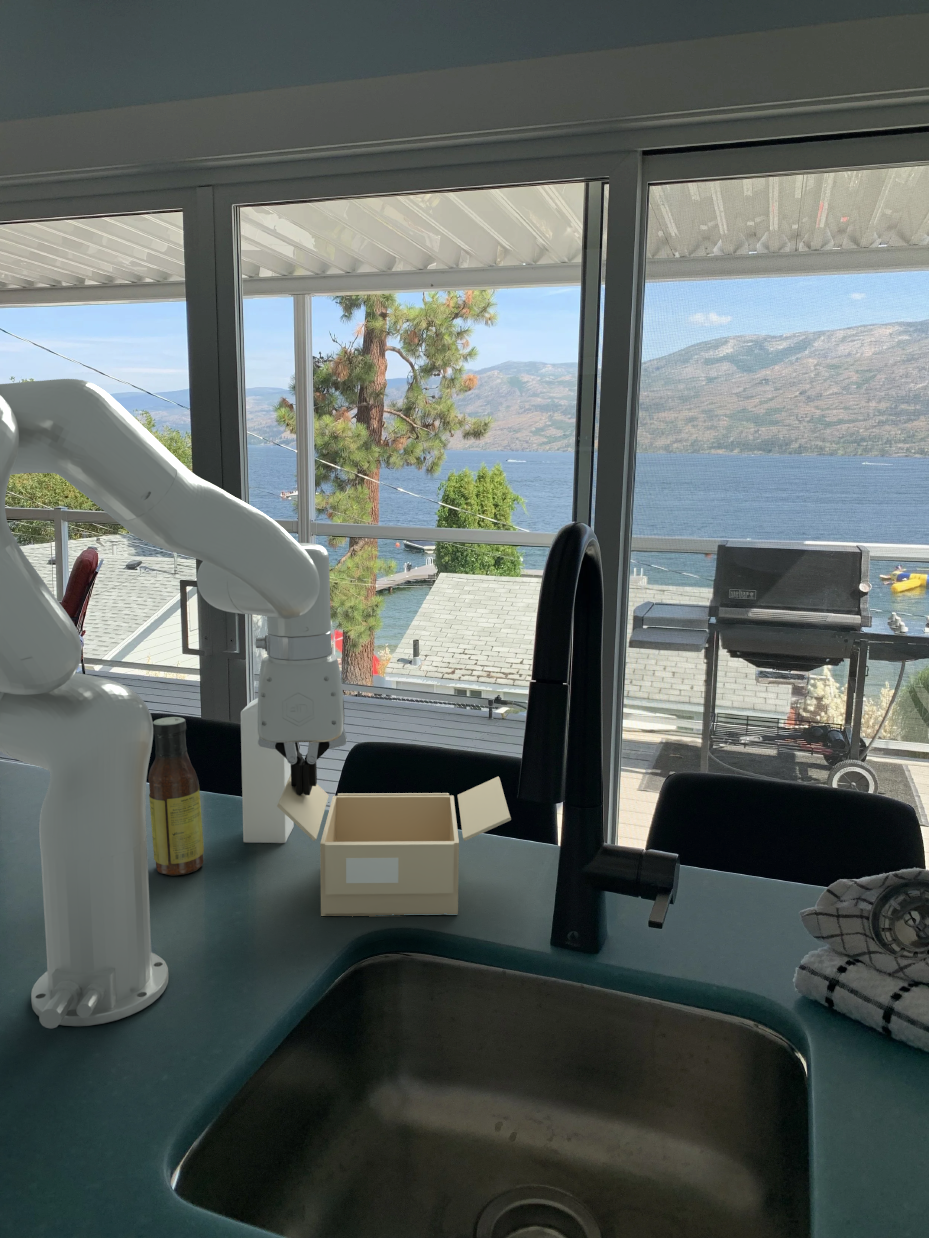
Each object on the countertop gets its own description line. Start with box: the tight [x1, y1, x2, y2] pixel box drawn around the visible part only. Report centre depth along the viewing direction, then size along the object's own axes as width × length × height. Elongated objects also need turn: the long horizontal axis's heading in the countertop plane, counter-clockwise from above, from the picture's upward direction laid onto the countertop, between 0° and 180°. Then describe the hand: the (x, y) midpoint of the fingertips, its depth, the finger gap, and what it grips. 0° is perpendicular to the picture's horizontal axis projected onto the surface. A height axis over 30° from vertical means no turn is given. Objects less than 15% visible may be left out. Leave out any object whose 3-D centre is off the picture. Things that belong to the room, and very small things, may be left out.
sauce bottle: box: [148, 716, 205, 877], centre depth 117 cm, size 7×6×20 cm
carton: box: [319, 792, 460, 918], centre depth 113 cm, size 17×16×9 cm
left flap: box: [277, 774, 330, 842], centre depth 112 cm, size 15×6×1 cm
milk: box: [240, 697, 295, 844], centre depth 128 cm, size 6×6×22 cm
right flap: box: [457, 776, 512, 842], centre depth 113 cm, size 15×6×1 cm, turn 3°
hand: (304, 791), depth 112 cm, fingers closed
